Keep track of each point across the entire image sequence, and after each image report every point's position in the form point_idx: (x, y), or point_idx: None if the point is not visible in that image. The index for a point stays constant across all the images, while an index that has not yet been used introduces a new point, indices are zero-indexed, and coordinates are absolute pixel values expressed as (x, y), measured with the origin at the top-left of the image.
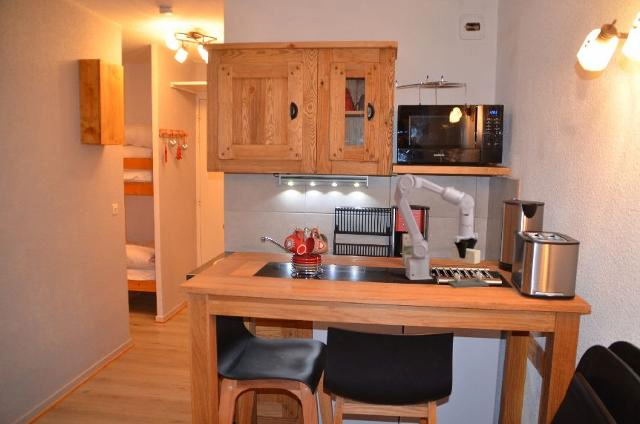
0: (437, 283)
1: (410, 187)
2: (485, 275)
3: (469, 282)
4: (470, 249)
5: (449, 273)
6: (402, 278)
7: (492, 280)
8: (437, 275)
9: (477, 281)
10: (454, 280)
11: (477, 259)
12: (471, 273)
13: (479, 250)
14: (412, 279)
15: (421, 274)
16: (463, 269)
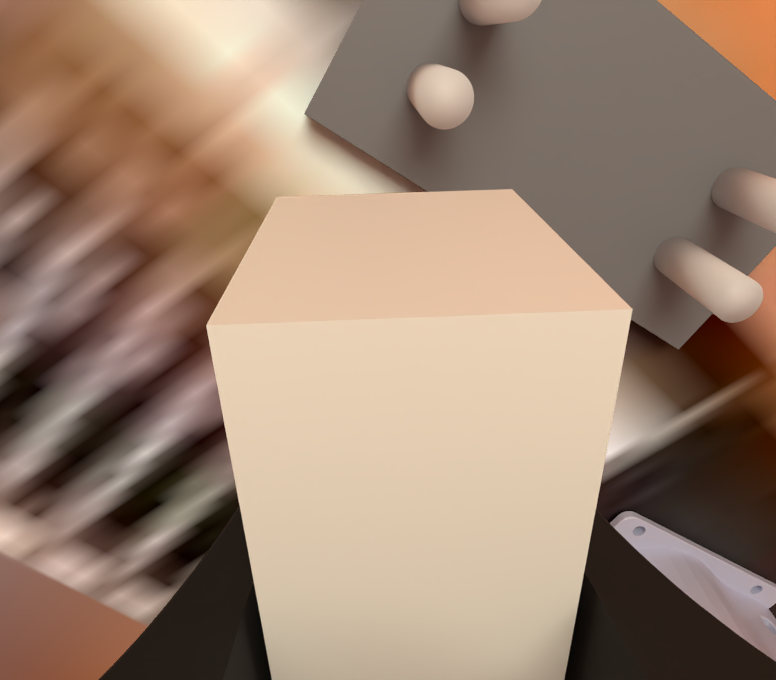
0: (739, 394)
1: None
2: (7, 260)
3: (594, 113)
4: (359, 595)
5: None
6: None
7: (123, 23)
8: None
9: (467, 63)
10: None
11: (390, 218)
12: (96, 417)
13: (256, 330)
14: (773, 584)
15: (725, 595)
16: (47, 552)
